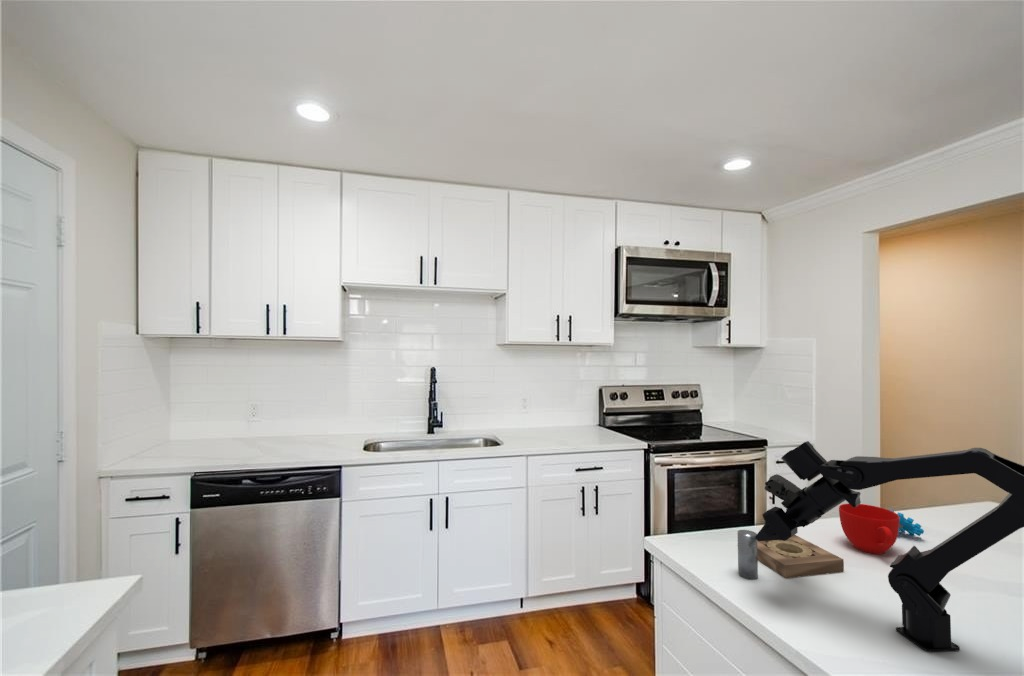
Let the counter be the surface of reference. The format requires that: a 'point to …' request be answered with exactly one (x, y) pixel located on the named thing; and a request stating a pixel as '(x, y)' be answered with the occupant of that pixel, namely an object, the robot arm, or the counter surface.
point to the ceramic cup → (869, 527)
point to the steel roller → (747, 555)
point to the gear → (909, 525)
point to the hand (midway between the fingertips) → (765, 533)
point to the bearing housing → (797, 558)
